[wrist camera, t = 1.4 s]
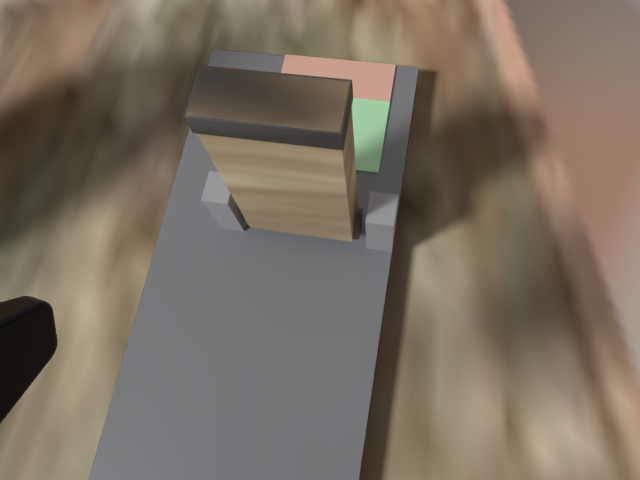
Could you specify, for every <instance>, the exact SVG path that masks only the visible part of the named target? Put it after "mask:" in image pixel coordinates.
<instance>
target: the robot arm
mask: <svg viewBox="0 0 640 480" xmlns="http://www.w3.org/2000/svg"><path fill="white" fill-rule="evenodd" d="M56 347H57V334H56V328H55V321H54V315H53V309H52V307H51V305H50V304H49V303H47V302H45V301H42V300H40V299H37V298H34V297H30V296H23V297H19V298H15V299H11V300H8V301H4V302H0V423H1V422H2V421H3V419H4V418H5V417H6V416H7V414H8V413H9V412H10V410H11V409H12V408H13V407H14V405H15V404H16V403H17V401H18V400H19V399H20V398H21V396H22V395H23V394H24V392H25V391H26V390H27V388H28V387H29V386H30V385H31V383H32V382H33V381H34V379H35V378H36V377H37V376H38V374H39V373H40V372H41V370H42V369H43V368H44V367H45V365H46V364H47V363H48V361H49V360H50V359H51V358H52V356H53V354H54V353H55V350H56Z"/></svg>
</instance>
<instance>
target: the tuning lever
mask: <svg viewBox="0 0 640 480" xmlns="http://www.w3.org/2000/svg"><path fill="white" fill-rule="evenodd" d="M352 102H353V85H352V80H349V79H338V78H328V77H318V76H308V75H297V74H287V73H277V72H266V71H256V70H246V69H236V68H225V67H215V66H205V65H199V66H198V70H197V73H196V77H195V80H194V84H193V87H192V90H191V94H190V97H189V101H188V104H187V107H186V111H185V114H184V119H185V120H186V122H187V124H188V125H189V127H190V129H191V131H192V132H193V133H196V134H197V136H198V137H199V139H200V141H201V143H202V144H203V146H204V148H205V150H206V151H207V153H208V155H209V157H210V158H211V160H212V162H213V164H214V165H215V167H216V169H217V171H218V172H219V174H220V176H221V178H222V179H223V181H224V183H225V185H226V186H227V188H228V190H229V192H230V193H231V195H232V197H233V198H234V200H235V202H236V204H237V205H238V207H239V209H240V211H241V212H242V214H243V216H244V218H245V222H246V224H248V225H249V226H250V228H256V229H264V230H271V231H278V232H285V233H292V234H300V235H307V236H314V237H321V238H328V239H336V240H343V241H350V242H352V241H353V239H357V240H359V237H360V232H361V226H362V218H363V208H358V191H357V177H356V162H355V148H354V133H353V119H352Z"/></svg>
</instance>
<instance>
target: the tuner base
mask: <svg viewBox="0 0 640 480" xmlns="http://www.w3.org/2000/svg"><path fill="white" fill-rule="evenodd" d="M207 66H215V67H225V68H236V69H246V70H256V71H266V72H277V73H287V74H297V75H308V76H318V77H328V78H338V79H349V80H352V85H353V102H352V119H353V133H354V148H355V162H356V177H357V191H358V208H363V218H362V226H361V232H360V237H359V240H357V239H353V241H352V242H350V241H343V240H336V239H328V238H321V237H314V236H307V235H300V234H292V233H285V232H278V231H271V230H264V229H256V228H250V226H249V225H248V224H246V222H245V218H244V216H243V214H242V212H241V211H240V209H239V207H238V205H237V204H236V202H235V200H234V198H233V197H232V195H231V193H230V192H229V190H228V188H227V186H226V185H225V183H224V181H223V179H222V178H221V176H220V174H219V172H218V171H217V169H216V167H215V165H214V164H213V162H212V160H211V158H210V157H209V155H208V153H207V151H206V150H205V148H204V146H203V144H202V143H201V141H200V139H199V137H198V136H197V134H196V133H193V132H192V131H191V129H190V128H189V132H188V135H187V138H186V142H185V145H184V149H183V152H182V156H181V159H180V163H179V166H178V170H177V173H176V177H175V180H174V184H173V187H172V191H171V194H170V198H169V201H168V205H167V208H166V212H165V215H164V219H163V222H162V226H161V229H160V233H159V236H158V239H157V243H156V246H155V250H154V253H153V257H152V260H151V264H150V267H149V271H148V274H147V278H146V281H145V285H144V288H143V292H142V295H141V299H140V302H139V306H138V309H137V313H136V316H135V320H134V323H133V327H132V330H131V334H130V337H129V340H128V344H127V347H126V351H125V354H124V358H123V361H122V365H121V368H120V372H119V375H118V379H117V382H116V386H115V389H114V393H113V396H112V400H111V403H110V407H109V410H108V414H107V417H106V421H105V424H104V428H103V431H102V434H101V438H100V441H99V445H98V448H97V452H96V455H95V459H94V462H93V466H92V469H91V473H90V476H89V480H359V478H360V471H361V464H362V457H363V450H364V443H365V437H366V430H367V423H368V416H369V409H370V402H371V395H372V388H373V381H374V374H375V368H376V361H377V354H378V347H379V340H380V333H381V326H382V319H383V312H384V306H385V299H386V292H387V285H388V278H389V271H390V264H391V257H392V250H393V243H394V237H395V230H396V223H397V216H398V209H399V202H400V195H401V188H402V181H403V175H404V168H405V161H406V154H407V147H408V140H409V133H410V126H411V119H412V113H413V106H414V99H415V92H416V85H417V77H418V68H411V67H401V66H396V65H394V64H384V63H373V62H362V61H351V60H340V59H329V58H319V57H308V56H297V55H286V54H285V56H282V55H271V54H260V53H250V52H239V51H228V50H217V49H212V51H211V55H210V58H209V62H208V65H207Z"/></svg>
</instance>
